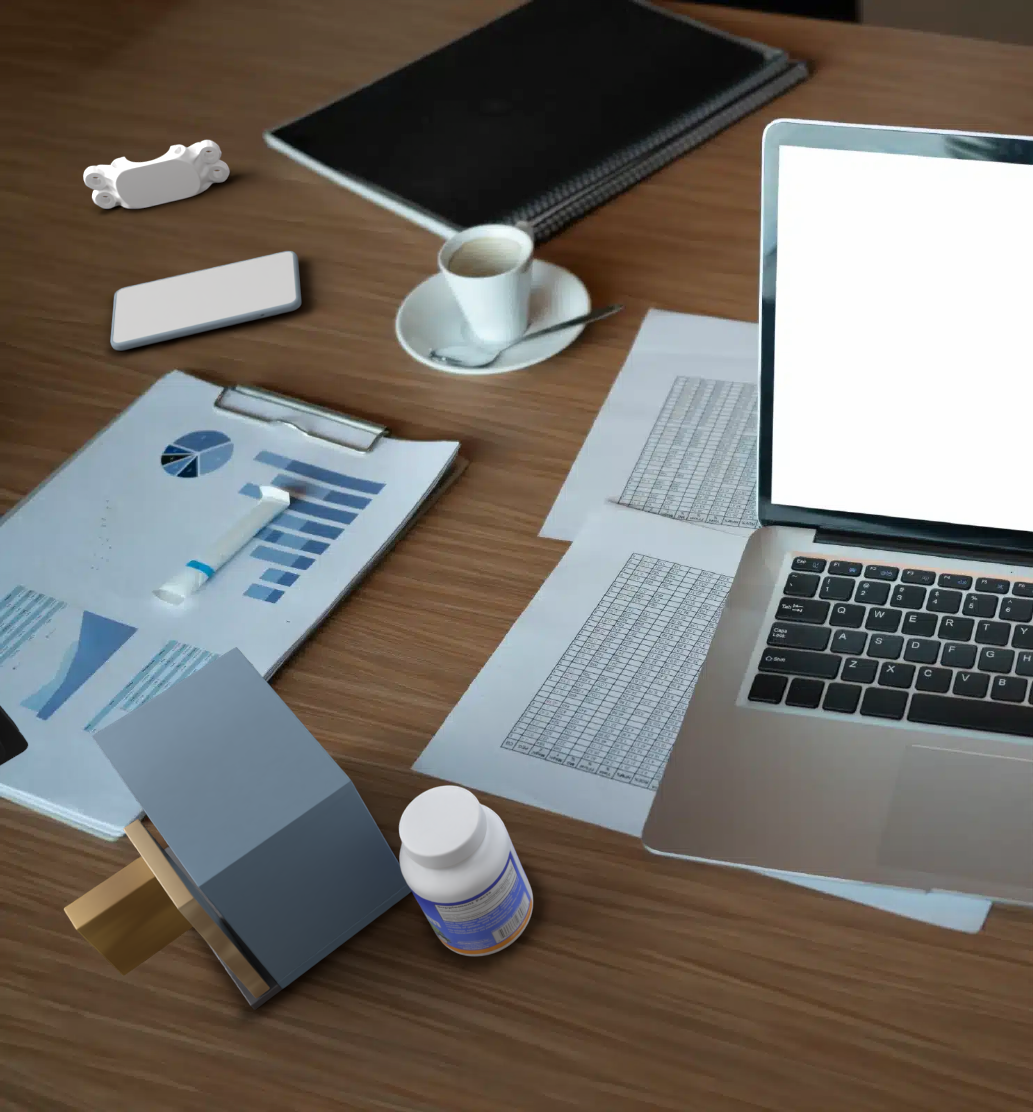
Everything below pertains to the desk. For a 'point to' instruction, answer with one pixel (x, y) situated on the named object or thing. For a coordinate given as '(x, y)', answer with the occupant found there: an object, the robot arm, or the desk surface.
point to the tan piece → (154, 913)
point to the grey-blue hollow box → (256, 817)
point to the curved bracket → (157, 177)
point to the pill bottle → (464, 871)
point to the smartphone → (205, 300)
